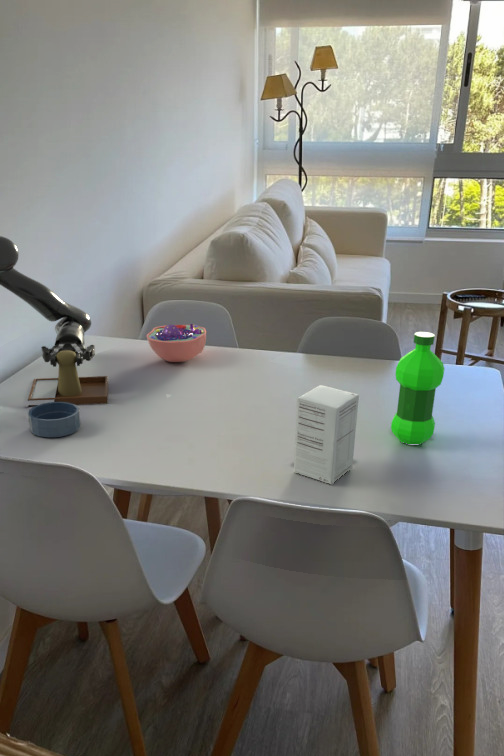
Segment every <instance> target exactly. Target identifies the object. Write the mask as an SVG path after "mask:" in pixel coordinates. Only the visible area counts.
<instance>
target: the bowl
mask: <svg viewBox="0 0 504 756" xmlns="http://www.w3.org/2000/svg"><path fill="white" fill-rule="evenodd" d="M36 405H37V406H34V407H30V409H28V413H27V417H28V418H27V419H28V424H29V431H30V432H31V433H32V435H35V436H38V437H43V438H61V437H66V436H69V435H72V434H74V433H76V432H77V431H79V430H80V429H81V426H82V424H81V422H82V421H81V413H80V411H81V410H80V407H79V405H75V404H72V403H68V402H54V401H50V402H49V401H48V402H45V403H44V402H43V403H40V404H36Z"/></svg>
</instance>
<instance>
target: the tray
mask: <svg viewBox="0 0 504 756" xmlns="http://www.w3.org/2000/svg"><path fill="white" fill-rule="evenodd" d="M78 377H79V382H80V386H81V390H82V393H81V394H79V395H77V396H71V397H65V396H60V395H59V394H58V384H57V386H56V390H55V395H54V397H37V398H36V397H35V398H32V397H33V393H34V389H35V386H36V384H37V381H55V380H57V381H58V378H59V377H48V378H47V377H45V378H44V377H43V378H33V381H32V384H31V388H30V391H29V394H28V396H27V397H28V398H27V401H29V402H30V401H51V400H52V401H53V402H68V403H72V404H75V405H77V406H84V405H105V404H108V399H109V376H108V375H99V376H98V375H97V376H78ZM37 405H38V404H29V405H28V408H33V407H34V406H37Z"/></svg>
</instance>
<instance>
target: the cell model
mask: <svg viewBox="0 0 504 756" xmlns="http://www.w3.org/2000/svg"><path fill="white" fill-rule="evenodd" d="M146 339H147V342H148V344H149V347H150V349H151V350H152V351H153V352H154V353H155V355H156V356H157V357H159V358H160V359H162V360H163V361H166V362H168V363H183V362H187V361H191V360H193V359H194V358H195V357H197V356H198V355H200V354H201V353H203V351H204V349H205V347H206V341H207V330H206V328H205V327H203V326H199V325H197V324H193V323H190V324H167V325H160V326H155V327H153V328H152V330H150V332H148V333H147V334H146Z"/></svg>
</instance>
